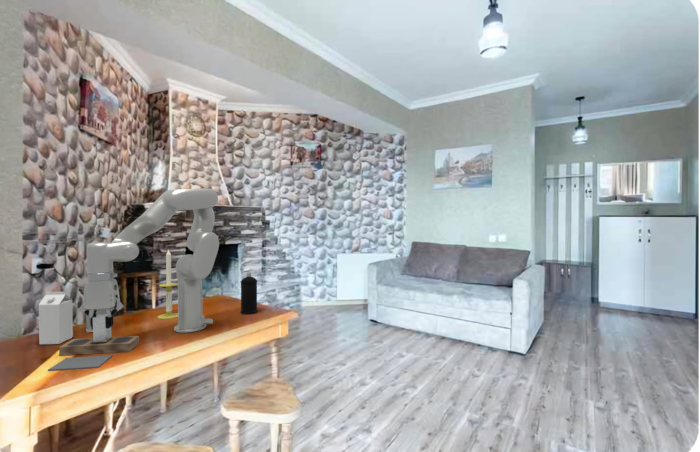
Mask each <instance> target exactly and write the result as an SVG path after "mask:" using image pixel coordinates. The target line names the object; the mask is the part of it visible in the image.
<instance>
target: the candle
mask: <svg viewBox="0 0 700 452" xmlns="http://www.w3.org/2000/svg"><path fill="white" fill-rule="evenodd" d="M165 265H166V266H165V269H166V270H165V274H166V275H165V277H166V278H165V280H166V281H165V283H164V282H163V283H160V284H158V287H161V288H165V313H163V314H159V315H158V316H157V319H159V320H171V319H176V318H178V312H173V290H172V289H173V288H172V287H176V286H177V287H178V282H172V254H171V252H170V248H168V249H167V253H166V254H165Z"/></svg>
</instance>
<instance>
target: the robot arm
mask: <svg viewBox="0 0 700 452" xmlns="http://www.w3.org/2000/svg"><path fill="white" fill-rule="evenodd" d="M218 201H219V196H218V193H217V192H216V191H215V190H214V189H212V188H179V189H178V188H177V189H176V188H175V189H168V190H166V191H164V192H162V194H161V195H160V196H159V197H158V198H157V199H155V201H154V202H153V203H152V204H151V205H150V206H149V207H148V208H147V209H146V210H145V211H144V212H143V213H142V214H141V215H140V216H139V217H137V218H136V219H135V220H134V221H132V222H131V223H130V224H129V225H127V226H126V227H125V228H123V230H122V231H120V233H118V235H117V236H115V238H113V240H112V241H111V242H105V241H103V242H102V241H101V242H91V243H90V242H89V243H88V244H87V245H86V268H87V270H86V272H87V275H86V276H87V281H85V285H84V288H83V295H82V296H83V297H82V301H83V302H82V304H81V305H80V306H79V308H78V310H79V311H80V312H82V313H84V314H85V315H87V316H88V317H89V318H90V324H91V326H92V329H93V317H95V316H96V314H97V309H106V312H107V318H106V328H110V327H111V328H112V327H113V325H114V316H115V314H117V312H119V310H122V309H123V308H124V307H125V306H124V304H122V302H121V298H120V291H119V285H118V281H117V279H116V278H118V273H115V271H114V262H131V261H133V260H135V259H136V258H137V257H138V256H139V254H140V248H139V246H138V244H139V243H140V242H141V241H142V240H144V239H145V238H146V237H148V236H149V235H152V234H155V233H156V232H158V231H160V230H161V229H162V228H163V227H164V226H165V225H166V224H167V223H168V222H169V221H170V219H172V217H173V216H174V215H175V214H176V213H177V212H178V211H192V212H193V221H192V224H191V228H190V231H189V232H188V236H187V240H186V247H187V248H188V250H190V251H192V252H193V254H191V253H190V254H188V253H187V254H185V255H182V256H181V257H179V258H178V260H177V261H176V263H175V274H176V280H177V283H178V285H177V313H178V317H177V324H176V325H175V326H174V327H173V331H174V332H176V333H181V334H182V333H184V334H185V333H194V332H199V331H202V330H204V329H205V328H207V324H208V325H211V324H214V320H213V319H212V318H210V317H208V318H206V317H205V315H203V280H204V279H205V278H207V277H209V275H210V274H211V272H212V270H213V268H214V264H215V261H216V259H217V255H218V251H219V247H220V240H219V237H218V235H217V234H216V233H215V232H213V230H214V225H215V219H216V216H215V212H214V209H213V208H214V207H215V206H217V204H218Z"/></svg>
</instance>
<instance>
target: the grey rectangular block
mask: <svg viewBox="0 0 700 452" xmlns="http://www.w3.org/2000/svg"><path fill="white" fill-rule="evenodd" d="M106 318H107V314H99V315H97V316H95V317H93V333H92V338H93V343H100V342H107V341H108V340H110V339H111V338H112V337H113V336H112V327H110V328H106Z"/></svg>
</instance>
